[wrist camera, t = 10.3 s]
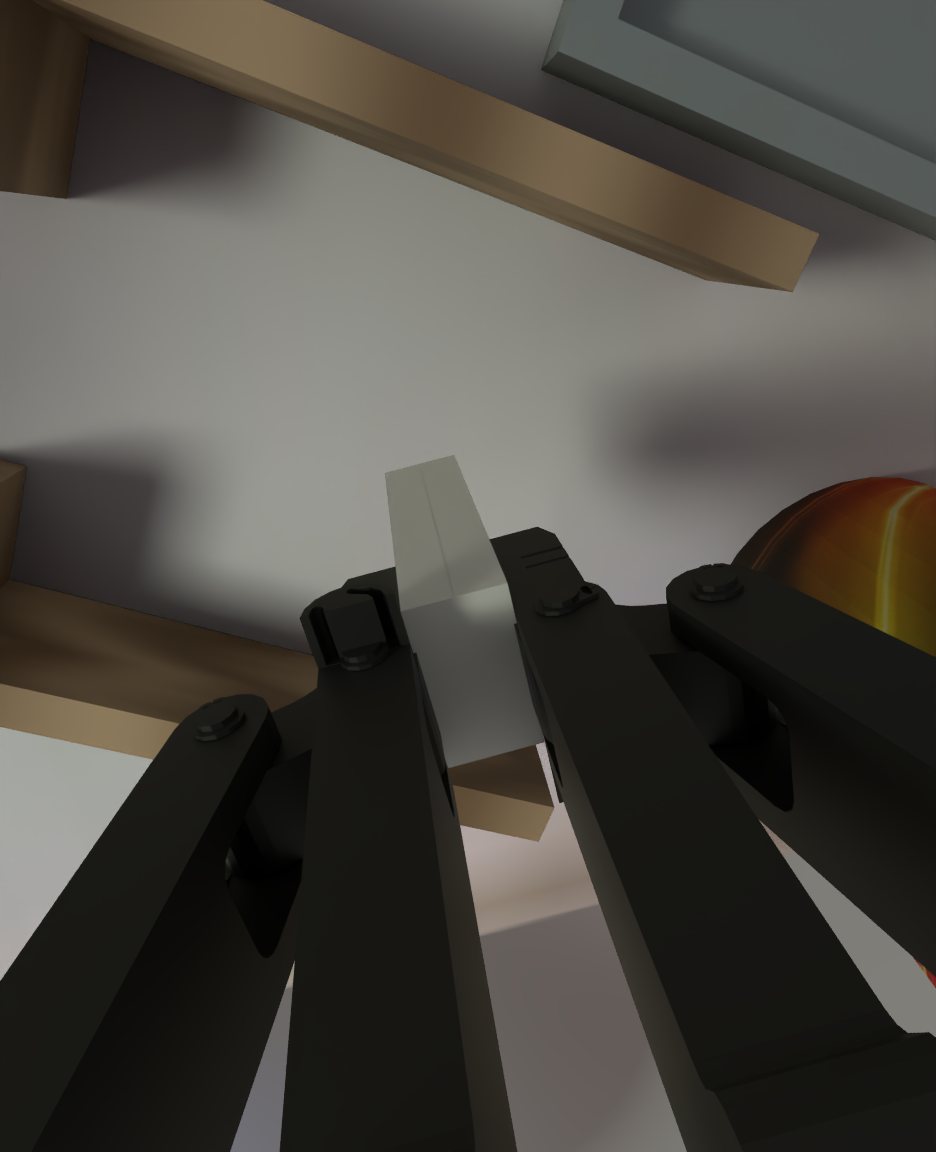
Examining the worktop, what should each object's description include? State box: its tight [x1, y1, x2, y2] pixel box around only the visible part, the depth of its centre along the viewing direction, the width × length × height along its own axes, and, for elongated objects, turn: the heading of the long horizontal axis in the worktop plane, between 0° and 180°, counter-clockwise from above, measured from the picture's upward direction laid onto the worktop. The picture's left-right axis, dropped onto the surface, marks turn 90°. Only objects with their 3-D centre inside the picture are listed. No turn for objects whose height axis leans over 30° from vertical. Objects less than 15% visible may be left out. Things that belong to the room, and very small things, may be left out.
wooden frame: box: [0, 0, 819, 842], centre depth 20 cm, size 17×16×5 cm
